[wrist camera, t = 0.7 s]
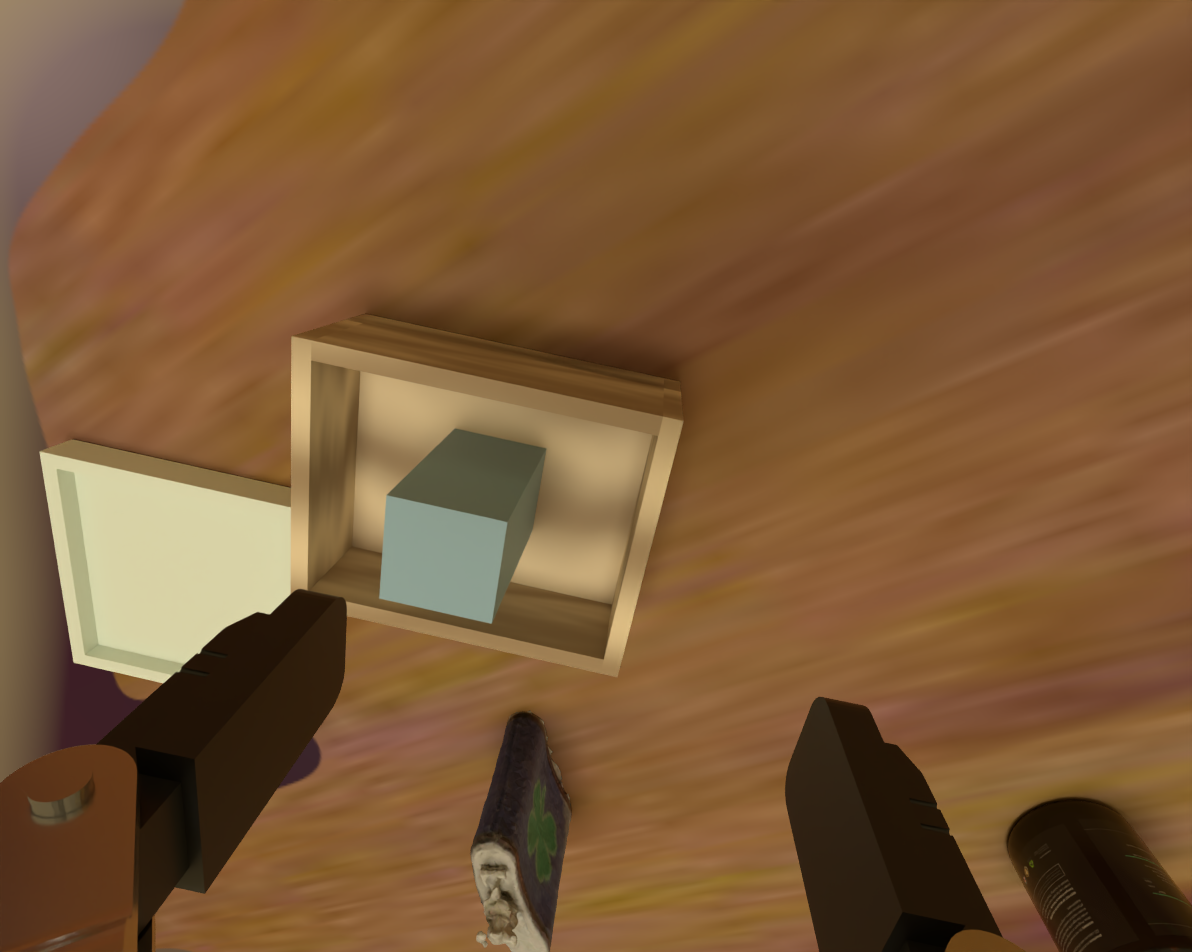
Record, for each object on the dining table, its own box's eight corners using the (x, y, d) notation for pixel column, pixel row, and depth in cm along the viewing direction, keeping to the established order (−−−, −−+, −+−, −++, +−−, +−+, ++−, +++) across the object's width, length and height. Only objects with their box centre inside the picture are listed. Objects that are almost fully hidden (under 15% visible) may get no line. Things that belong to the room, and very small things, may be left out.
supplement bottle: (1038, 891, 40) (1180, 1148, 29) (982, 826, 39) (1109, 1070, 27) (1149, 849, 38) (1348, 1109, 27) (1094, 778, 36) (1281, 1022, 25)
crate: (365, 313, 31) (291, 336, 25) (680, 381, 30) (683, 421, 24) (354, 538, 36) (290, 603, 30) (625, 599, 35) (617, 677, 29)
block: (454, 428, 30) (386, 495, 23) (546, 448, 30) (507, 522, 23) (445, 511, 32) (379, 598, 25) (532, 530, 32) (491, 623, 24)
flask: (577, 817, 42) (549, 1001, 32) (535, 820, 42) (494, 1003, 32) (541, 707, 39) (497, 873, 29) (496, 712, 39) (437, 877, 29)
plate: (72, 439, 35) (39, 451, 33) (317, 493, 35) (297, 508, 33) (100, 642, 40) (73, 662, 39) (312, 691, 40) (295, 713, 38)
